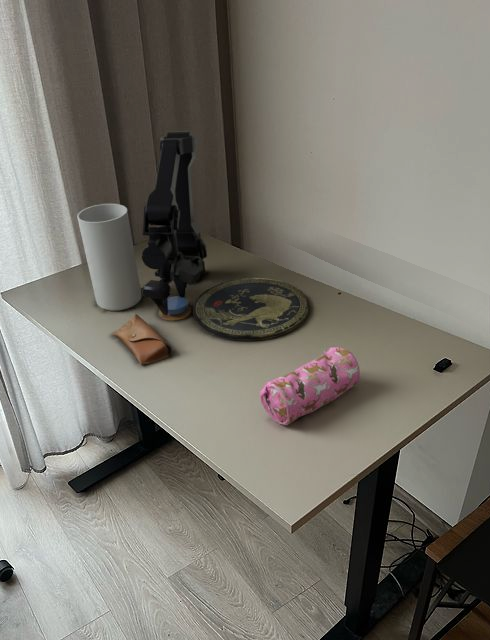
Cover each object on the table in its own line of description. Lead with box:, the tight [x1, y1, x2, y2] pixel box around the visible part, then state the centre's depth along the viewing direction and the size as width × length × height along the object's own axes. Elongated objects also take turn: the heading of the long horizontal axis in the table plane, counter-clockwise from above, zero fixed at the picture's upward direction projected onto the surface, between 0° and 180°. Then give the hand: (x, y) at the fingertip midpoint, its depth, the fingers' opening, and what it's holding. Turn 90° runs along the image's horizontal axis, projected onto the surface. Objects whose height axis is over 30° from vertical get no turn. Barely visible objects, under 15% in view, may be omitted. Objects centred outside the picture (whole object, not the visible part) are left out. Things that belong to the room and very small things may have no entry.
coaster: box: [158, 305, 192, 322], centre depth 159 cm, size 9×9×1 cm
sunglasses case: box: [112, 313, 173, 366], centre depth 146 cm, size 18×7×7 cm, turn 32°
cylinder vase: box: [76, 203, 143, 312], centre depth 159 cm, size 12×12×25 cm
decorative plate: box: [192, 277, 309, 342], centre depth 156 cm, size 30×2×30 cm
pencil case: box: [259, 346, 361, 426], centre depth 122 cm, size 21×9×9 cm, turn 128°
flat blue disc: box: [168, 296, 189, 315], centre depth 158 cm, size 7×7×2 cm
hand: (174, 306), depth 158 cm, fingers open, 9 cm apart
